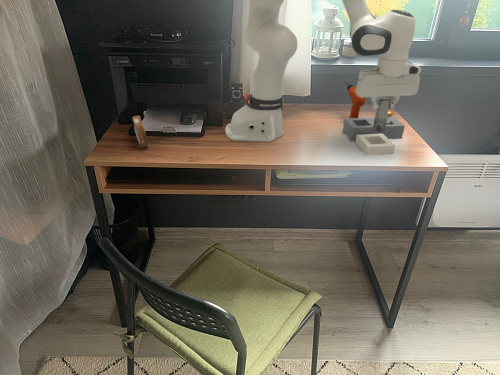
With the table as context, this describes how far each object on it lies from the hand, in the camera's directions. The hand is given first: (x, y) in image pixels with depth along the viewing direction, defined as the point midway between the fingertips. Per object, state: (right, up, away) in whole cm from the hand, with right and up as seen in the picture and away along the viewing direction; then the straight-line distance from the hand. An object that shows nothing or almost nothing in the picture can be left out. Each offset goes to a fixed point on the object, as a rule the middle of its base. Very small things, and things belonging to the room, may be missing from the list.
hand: (382, 108), depth 127 cm
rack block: (0, -12, +8) cm, 15 cm away
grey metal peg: (0, -6, +4) cm, 8 cm away
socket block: (+2, -6, +18) cm, 19 cm away
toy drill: (-4, +1, +29) cm, 29 cm away
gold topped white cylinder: (+7, -6, +18) cm, 20 cm away
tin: (-84, -10, +9) cm, 85 cm away
